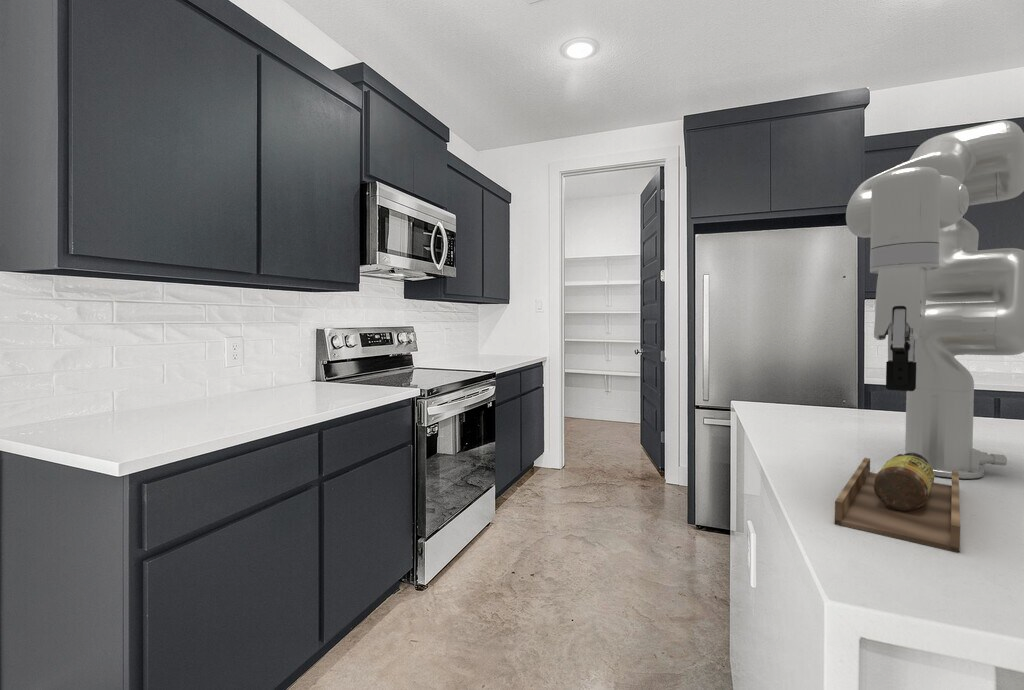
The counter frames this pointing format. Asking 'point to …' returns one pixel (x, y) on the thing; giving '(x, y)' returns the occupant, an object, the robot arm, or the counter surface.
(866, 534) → the counter surface
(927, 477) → the sauce bottle
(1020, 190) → the robot arm
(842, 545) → the counter surface
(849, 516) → the tray
